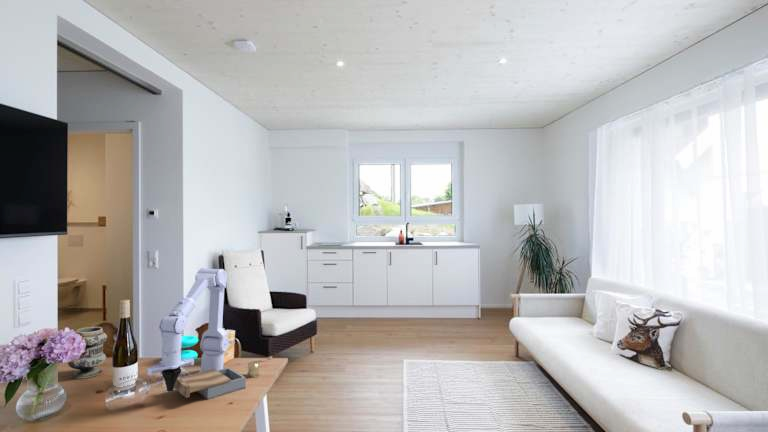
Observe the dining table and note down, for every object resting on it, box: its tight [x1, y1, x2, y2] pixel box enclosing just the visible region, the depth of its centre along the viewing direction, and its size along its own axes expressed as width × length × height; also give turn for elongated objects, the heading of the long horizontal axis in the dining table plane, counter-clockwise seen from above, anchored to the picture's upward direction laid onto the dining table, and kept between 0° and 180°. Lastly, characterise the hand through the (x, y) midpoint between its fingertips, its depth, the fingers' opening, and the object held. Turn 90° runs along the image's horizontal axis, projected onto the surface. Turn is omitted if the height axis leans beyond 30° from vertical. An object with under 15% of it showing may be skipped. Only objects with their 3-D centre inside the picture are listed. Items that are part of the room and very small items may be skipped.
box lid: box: [174, 369, 231, 399], centre depth 138 cm, size 14×16×3 cm
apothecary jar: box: [67, 326, 108, 380], centre depth 152 cm, size 12×12×18 cm
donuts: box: [181, 334, 199, 361], centre depth 171 cm, size 10×10×10 cm
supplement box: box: [223, 329, 236, 365], centre depth 171 cm, size 8×5×13 cm, turn 168°
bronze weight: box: [246, 361, 260, 379], centre depth 155 cm, size 4×4×5 cm
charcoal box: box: [196, 367, 247, 400], centre depth 143 cm, size 14×14×4 cm
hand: (169, 390), depth 130 cm, fingers closed
